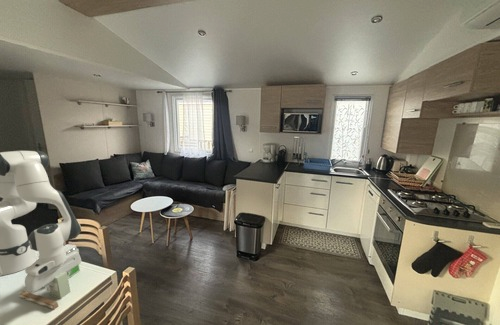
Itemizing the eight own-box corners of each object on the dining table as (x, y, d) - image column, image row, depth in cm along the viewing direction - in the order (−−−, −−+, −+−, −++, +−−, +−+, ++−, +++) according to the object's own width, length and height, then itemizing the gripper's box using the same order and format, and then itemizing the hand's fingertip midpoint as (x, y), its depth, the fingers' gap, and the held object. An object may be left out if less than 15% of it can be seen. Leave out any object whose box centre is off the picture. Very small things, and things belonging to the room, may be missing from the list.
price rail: (19, 298, 94) (18, 293, 93) (24, 295, 96) (23, 290, 95) (53, 310, 88) (52, 305, 88) (58, 306, 90) (57, 302, 90)
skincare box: (64, 281, 104) (59, 254, 101) (54, 279, 105) (49, 252, 102) (81, 270, 112) (76, 245, 109) (71, 268, 113) (67, 243, 110)
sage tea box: (50, 295, 96) (46, 275, 94) (59, 288, 100) (56, 269, 97) (60, 298, 94) (57, 278, 92) (70, 292, 98) (66, 272, 96)
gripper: (73, 244, 104) (77, 268, 106) (19, 272, 84) (26, 300, 87) (82, 247, 102) (86, 270, 105) (30, 276, 83) (36, 304, 85)
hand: (58, 284), depth 96 cm, fingers open, 5 cm apart
